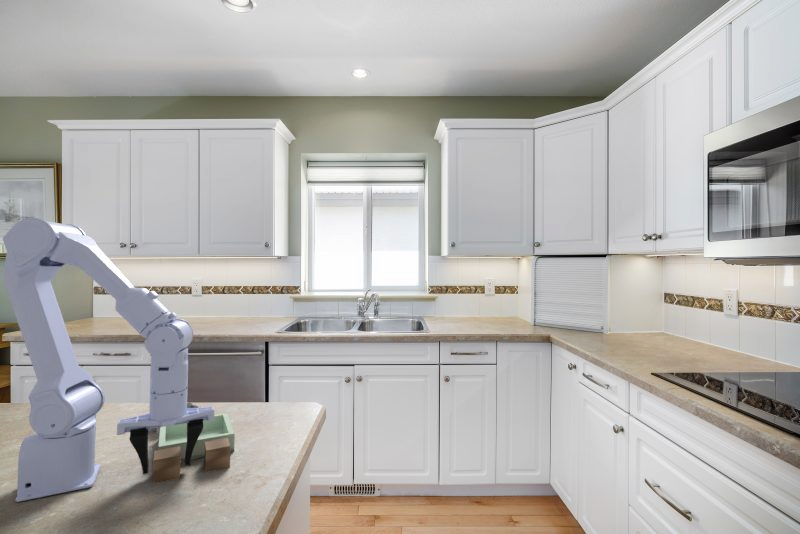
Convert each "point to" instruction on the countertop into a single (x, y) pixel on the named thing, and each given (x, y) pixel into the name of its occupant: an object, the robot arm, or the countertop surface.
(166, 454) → the block
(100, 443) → the countertop surface
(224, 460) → the block
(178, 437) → the dish
